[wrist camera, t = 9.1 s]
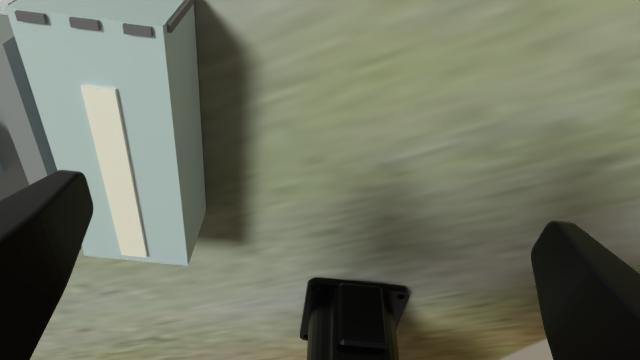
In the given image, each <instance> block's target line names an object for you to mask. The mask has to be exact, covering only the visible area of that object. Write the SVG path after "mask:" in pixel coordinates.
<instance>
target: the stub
mask: <svg viewBox="0 0 640 360" xmlns="http://www.w3.org/2000/svg"><path fill="white" fill-rule="evenodd" d="M3 173H4V171H3V168H2V166H1V163H0V176H1V175H2V174H3Z"/></svg>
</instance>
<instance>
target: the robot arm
mask: <svg viewBox="0 0 640 360" xmlns="http://www.w3.org/2000/svg"><path fill="white" fill-rule="evenodd" d="M92 215H93V201H92V198H91V194H90V190H89V187H88V183H87V180H86V177H85V175H84V174H83V173H82V172H79V171H71V170H58V171H55V172H53V173H51V174H50V175H48V176H46V177H44V178H42V179H40V180H38V181H36V182H34V183H32V184H30V185H29V186H27V187H25V188H23V189H21V190H19V191H17V192H15V193H13V194H11V195H10V196H8V197H6V198H4V199H2V200H0V360H30V358H31V356H32V354H33V352H34V350H35V348H36V346H37V344H38V342H39V340H40V338H41V336H42V334H43V332H44V330H45V328H46V326H47V324H48V322H49V320H50V318H51V316H52V314H53V312H54V310H55V308H56V306H57V304H58V302H59V300H60V298H61V296H62V294H63V292H64V290H65V288H66V286H67V283H68V281H69V278H70V276H71V273H72V270H73V268H74V265H75V262H76V259H77V257H78V254H79V251H80V248H81V246H82V243H83V240H84V237H85V235H86V232H87V229H88V226H89V224H90V221H91V218H92ZM531 262H532V267H533V272H534V278H535V283H536V288H537V294H538V299H539V304H540V310H541V315H542V320H543V325H544V329H545V333H546V336H547V340H548V343H549V346H550V350H551V353H552V356H553V359H554V360H640V274H639V273H638V272H636V271H635V270H634V269H633V268H631V267H630V266H629V265H627V264H626V263H625V262H623V261H622V260H621V259H620V258H618V257H617V256H616V255H614V254H613V253H612V252H610V251H609V250H608V249H607V248H605V247H604V246H603V245H601V244H600V243H599V242H598V241H596V240H595V239H594V238H592V237H591V236H590V235H588V234H587V233H586V232H585V231H583V230H582V229H581V228H579V227H578V226H577V225H575V224H574V223H571V222H564V221H551V222H549V223H548V224H547V225H546V227H545V228H544V230H543V232H542V233H541V235H540V237H539V238H538V240H537V242H536V243H535V245H534V247H533V249H532V253H531ZM408 298H409V294H408V290H407V288H405V287H399V286H389V285H379V284H368V283H358V282H348V281H337V280H327V279H317V278H315V279H310V280H309V281H308V284H307V290H306V297H305V303H304V310H303V316H302V323H301V329H300V338H301V339H303V340H306V341H308V347H307V360H399V354H398V346H397V337H396V329H397V326H398V323H399V321H400V318H401V316H402V313H403V311H404V308H405V306H406V303H407V300H408Z"/></svg>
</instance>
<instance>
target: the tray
mask: <svg viewBox="0 0 640 360" xmlns="http://www.w3.org/2000/svg"><path fill="white" fill-rule="evenodd" d="M0 163H1V166H2V168H3V171H4V173H3V174H2V175H1V176H0V200H2V199H4V198H6V197H8V196H10V195H11V194H13V193H15V192H17V191H19V190H21V189H23V188H25V187H27V186H29V185H30V184H32V183H34V182H36V181H38V180H40V179H42V178H44V177H46V176H48V175H50V174H51V173H53V172H55V171H57V167H56V164H55V161H54V158H53V155H52V152H51V149H50V146H49V142H48V139H47V136H46V133H45V130H44V127H43V124H42V121H41V117H40V114H39V111H38V108H37V105H36V102H35V99H34V96H33V92H32V89H31V86H30V83H29V80H28V77H27V74H26V71H25V67H24V64H23V61H22V58H21V55H20V52H19V49H18V46H17V42H16V39H15V36H14V33H13V30H12V27H11V24H10V21H9V17H8V15H0ZM81 248H82V246H81ZM81 248H80V250H81Z"/></svg>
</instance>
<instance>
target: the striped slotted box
mask: <svg viewBox="0 0 640 360" xmlns="http://www.w3.org/2000/svg"><path fill="white" fill-rule="evenodd" d="M194 3H195V0H14V1H12V2H11V3H9V4H8V6H6V7H5V8H6V11H7V14H8V17H9V21H10V24H11V27H12V30H13V33H14V36H15V39H16V42H17V46H18V49H19V52H20V55H21V58H22V61H23V64H24V67H25V71H26V74H27V77H28V80H29V83H30V86H31V89H32V92H33V96H34V99H35V102H36V105H37V108H38V111H39V114H40V117H41V121H42V124H43V127H44V130H45V133H46V136H47V139H48V142H49V146H50V149H51V152H52V155H53V158H54V161H55V164H56V167H57V171H58V170H71V171H79V172H82V173H83V174H84V175H85V177H86V180H87V183H88V187H89V190H90V194H91V198H92V201H93V215H92V218H91V221H90V224H89V226H88V229H87V232H86V235H85V237H84V240H83V243H82V249H83V252H84V255H85V256H92V257H103V258H113V259H123V260H134V261H144V262H154V263H165V264H175V265H185V266H188V264H189V261H190V258H191V255H192V252H193V249H194V246H195V243H196V240H197V237H198V234H199V231H200V228H201V225H202V222H203V219H204V216H205V213H206V197H205V181H204V164H203V148H202V131H201V114H200V98H199V81H198V65H197V48H196V32H195V15H194Z"/></svg>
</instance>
